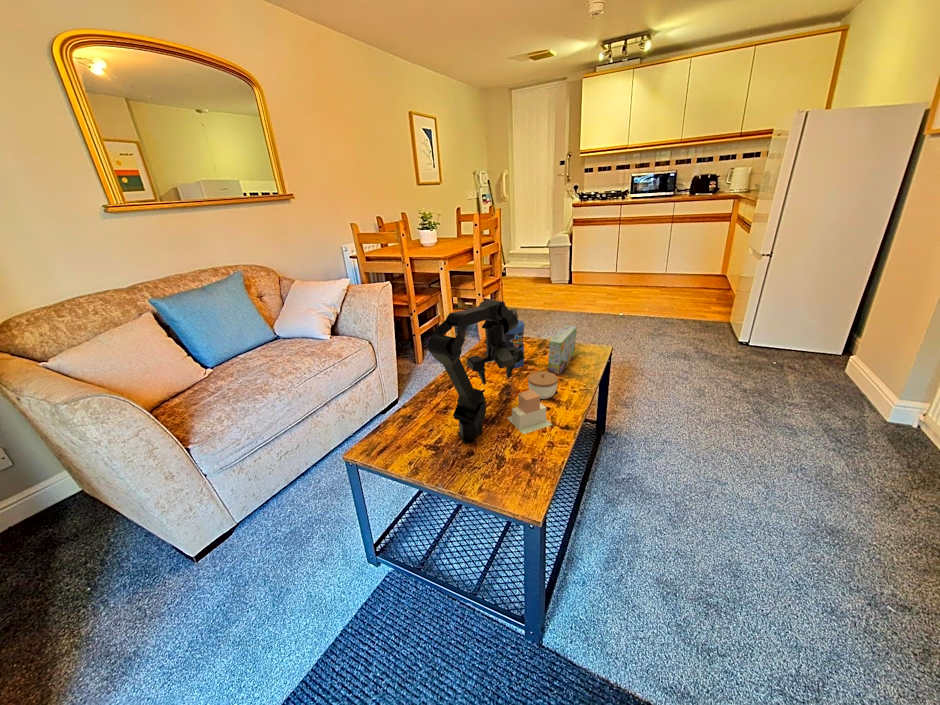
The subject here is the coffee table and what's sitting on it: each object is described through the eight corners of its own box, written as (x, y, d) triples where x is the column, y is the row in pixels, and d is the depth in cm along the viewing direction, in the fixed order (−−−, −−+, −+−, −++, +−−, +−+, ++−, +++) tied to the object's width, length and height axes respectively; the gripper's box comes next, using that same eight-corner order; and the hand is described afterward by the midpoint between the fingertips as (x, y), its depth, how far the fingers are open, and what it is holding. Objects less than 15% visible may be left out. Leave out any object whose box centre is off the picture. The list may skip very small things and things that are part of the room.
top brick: (526, 413, 125) (526, 400, 123) (518, 406, 129) (518, 393, 128) (539, 409, 127) (540, 396, 125) (531, 402, 131) (531, 389, 129)
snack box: (560, 376, 160) (561, 342, 154) (547, 374, 163) (548, 340, 157) (575, 357, 177) (577, 325, 171) (563, 355, 179) (564, 324, 173)
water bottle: (499, 362, 176) (497, 308, 166) (517, 357, 180) (516, 305, 170) (509, 370, 168) (508, 314, 158) (528, 365, 172) (528, 310, 162)
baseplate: (523, 436, 124) (523, 434, 124) (506, 420, 133) (506, 417, 133) (552, 427, 128) (552, 424, 128) (534, 411, 137) (534, 409, 137)
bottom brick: (519, 429, 126) (519, 415, 124) (512, 421, 131) (511, 408, 129) (546, 420, 130) (546, 407, 128) (537, 413, 134) (537, 400, 132)
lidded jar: (558, 390, 150) (558, 368, 146) (556, 404, 141) (556, 381, 137) (530, 388, 153) (530, 366, 149) (526, 402, 143) (526, 379, 140)
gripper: (479, 352, 117) (482, 398, 123) (533, 340, 123) (533, 384, 129) (464, 341, 126) (467, 384, 132) (515, 329, 133) (515, 371, 139)
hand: (496, 381), depth 133 cm, fingers open, 9 cm apart
